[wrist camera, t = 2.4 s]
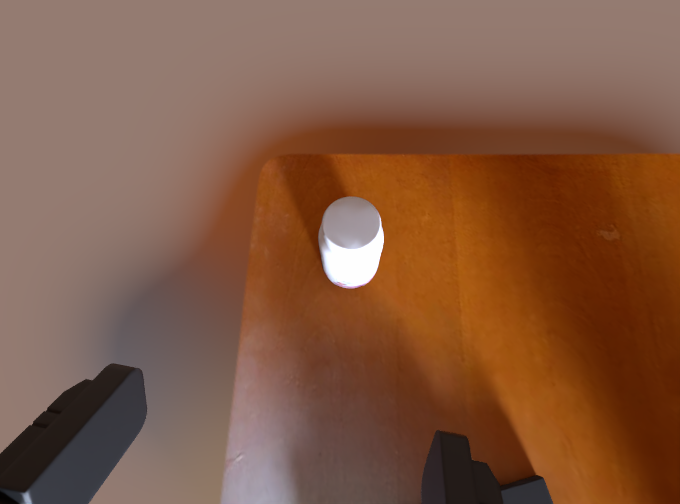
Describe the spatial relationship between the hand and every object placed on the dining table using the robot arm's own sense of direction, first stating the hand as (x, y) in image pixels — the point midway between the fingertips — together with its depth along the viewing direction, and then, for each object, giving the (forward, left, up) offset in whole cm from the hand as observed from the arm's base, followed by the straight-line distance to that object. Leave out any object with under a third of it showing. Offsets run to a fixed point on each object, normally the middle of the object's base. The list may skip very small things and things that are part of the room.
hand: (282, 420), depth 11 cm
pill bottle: (+5, +11, -22) cm, 25 cm away
